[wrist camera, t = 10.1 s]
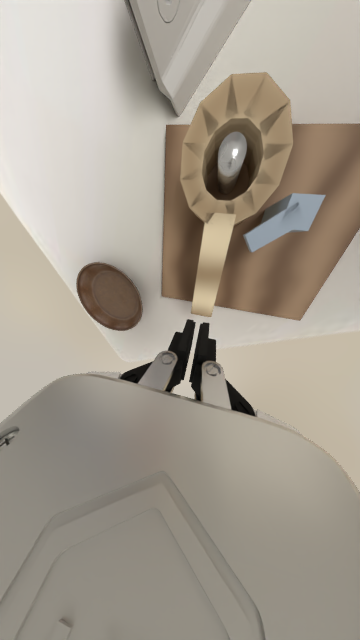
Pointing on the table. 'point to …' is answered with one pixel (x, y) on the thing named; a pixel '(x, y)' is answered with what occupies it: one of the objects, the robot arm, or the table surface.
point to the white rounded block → (182, 40)
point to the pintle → (230, 160)
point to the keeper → (284, 219)
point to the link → (261, 159)
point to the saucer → (109, 296)
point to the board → (277, 256)
